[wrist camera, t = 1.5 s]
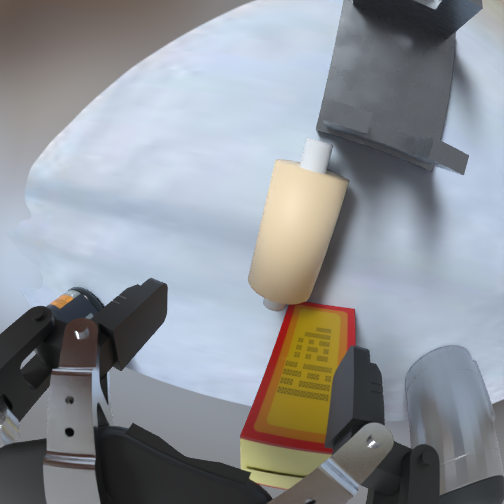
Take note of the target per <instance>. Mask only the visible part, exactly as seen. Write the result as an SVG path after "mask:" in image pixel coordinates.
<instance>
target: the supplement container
mask: <svg viewBox="0 0 504 504" xmlns="http://www.w3.org/2000/svg"><path fill="white" fill-rule="evenodd" d="M46 307H47V308H49V309H50V310H51V312H52V314H53V318H54V319H55V320H59V321H62V322H66V323H69V322H71V321H72V320H75V319H78V318H87V319H91V318H92V317H93V316H94V315H96V314H97V313H98V312H99V311H100V310H102V309H103V306H102V305H101V303H100V302H99V301H98V300H97V298H96V297H95V296H94V295H92V294H91V293H90V292H89V291H87V290H85V289H83V288H81V287H73V288H71V289H69V290H68V291H67V292H66V293H64V294H63V295H62V296H60V297H59V298H57V299H56V300H55V301H53V302H52V303H50V304H49V305H48V306H46ZM34 351H35V353H36V354H37V351H36V349H34Z"/></svg>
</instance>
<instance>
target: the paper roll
mask: <svg viewBox="0 0 504 504" xmlns="http://www.w3.org/2000/svg"><path fill="white" fill-rule="evenodd" d="M332 148H333V145H331V144H328V143H324V142H321V141H317V140H313V139H310V138H306V142H305V146H304V150H303V154H302V158H301V162H295V161H289V160H281V159H278V160H275V164H274V169H273V173H272V177H271V182H270V186H269V190H268V195H267V199H266V203H265V207H264V212H263V216H262V220H261V225H260V229H259V233H258V238H257V242H256V246H255V250H254V255H253V259H252V263H251V268H250V272H249V276H248V282H249V284H250V286H251V288H252V289H253V290H254V291H255V292H256V293H258V294H259V295H260V296H262V297H264V300H263V304H264V306H265V307H266V308H268V309H270V310H272V311H281V310H283V309H284V307H285V304H290V305H291V304H299V303H303V302H305V301H306V300H308V299H309V297H310V296H311V293H312V290H313V288H314V285H315V282H316V280H317V277H318V274H319V271H320V269H321V266H322V263H323V260H324V258H325V255H326V252H327V249H328V246H329V243H330V240H331V237H332V234H333V231H334V228H335V225H336V222H337V219H338V216H339V213H340V210H341V206H342V203H343V200H344V197H345V193H346V190H347V187H348V183H349V180H348V179H346V178H344V177H342V176H340V175H338V174H336V173H333V172H330V171H328V170H327V167H328V163H329V160H330V156H331V152H332Z"/></svg>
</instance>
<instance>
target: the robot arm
mask: <svg viewBox="0 0 504 504" xmlns="http://www.w3.org/2000/svg"><path fill="white" fill-rule="evenodd" d="M167 291H168V287H167V284H165V283H163V282H160V281H158V280H155V279H153V278H150V279H148V280H147V281H146V282H144V283H143V284H142V285H141V286H140V285H138V284H137V285H135V286H132V287H129V288H127V289H126V290H124V291H123V292H122V293H121V294H120V295H119V296H117V297H116V298H115V299H113V301H111V302H110V303H109V304H107V305H106V306H105V307H104V308H103V309H102V310H100V311H99V312H98V313H97V314H96V315H94V316H93V317H92V318H91V319H87V318H78V319H75V320H72V321H71V322H69V323H66V322H62V321H59V320H55V319H54V318H53V314H52V312H51V310H50V309H49V308H47V307H45V306H37V307H33V308H31V309H30V310H28V311H27V312H26V313H25V314H23V315H22V316H21V317H20V318H19V319H17V320H16V321H15V322H14V323H13V324H12V325H10V326H9V327H8V328H7V329H6V330H5V331H4V332H2V333H1V334H0V504H346V503H347V502H348V501H349V500H350V499H351V498H352V497H353V496H354V495H355V494H356V493H357V491H358V489H357V488H358V487H359V485H362V486H364V487H366V488H368V494H367V501H366V504H502V502H503V500H504V477H503V476H504V475H503V468H502V462H501V456H500V451H499V446H498V441H497V437H496V433H495V429H494V424H493V422H494V420H495V414H494V411H493V407H492V404H491V401H490V398H489V395H488V392H487V389H486V386H485V383H484V380H483V377H482V375H481V372H480V370H479V367H478V364H477V362H476V361H473V360H472V357H471V355H470V353H469V352H468V350H466V349H465V348H463V347H459V346H447V347H443V348H439V349H436V350H434V351H432V352H430V353H428V354H427V355H425V356H423V357H422V358H421V359H420V360H418V361H417V362H416V363H415V364H414V365H413V366H412V367H411V369H410V370H409V372H408V374H407V376H406V381H405V385H406V393H407V401H408V412H409V422H410V436H411V437H410V438H411V448H408V447H406V446H403V445H401V444H399V443H397V442H395V441H394V439H393V435H392V433H391V431H390V430H389V429H388V428H387V427H386V426H385V424H384V402H383V395H382V393H383V387H382V376H381V372H380V370H379V369H378V367H377V365H376V364H374V363H370V354H369V350H368V349H365V348H361V347H357V346H353V345H351V346H350V347H349V349H348V351H347V352H346V354H345V356H344V358H343V359H342V361H341V363H340V364H339V366H338V368H337V369H336V371H335V374H334V377H333V380H332V389H331V399H330V408H329V416H328V424H327V431H326V438H325V445H324V447H325V448H331V449H333V451H332V456H331V457H330V458H328V459H327V460H326V461H325V462H324V463H322V464H321V465H320V466H319V467H317V468H316V469H315V470H314V471H312V472H311V473H310V474H308V475H307V476H306V477H304V478H303V479H302V480H300V481H299V482H298V483H296V484H295V485H293V486H292V487H291V488H289V489H288V490H286V491H285V492H283V493H282V494H280V495H279V496H277V497H276V498H274V499H272V497H271V496H270V495H269V494H268V492H267V491H266V490H264V489H263V488H262V487H261V486H260V485H259V484H257V483H256V482H254V481H253V480H251V479H249V477H250V474H251V472H248V471H245V470H241V469H238V468H235V467H232V466H229V465H226V464H223V463H220V462H212V461H206V460H200V459H194V458H189V457H186V456H184V455H182V454H181V453H179V452H178V451H177V450H175V449H174V448H173V447H172V446H170V445H169V444H168V443H166V442H165V441H164V440H163V439H161V438H160V437H159V436H156V435H155V434H152V433H151V432H149V431H147V430H145V429H143V428H141V427H139V426H137V425H136V424H134V423H133V424H132V425H131V427H130V428H124V427H119V426H115V425H114V421H113V416H112V412H111V402H110V384H109V370H110V369H111V368H112V367H115V368H116V369H118V370H120V371H122V370H123V369H124V367H125V366H126V365H127V364H128V363H129V362H130V360H131V359H132V358H133V357H134V356H135V355H136V353H137V352H138V351H139V350H140V349H141V348H142V347H143V345H144V344H145V343H146V342H147V341H148V340H149V339H150V337H151V336H152V335H153V334H154V333H155V332H156V331H157V329H158V328H159V327H160V326H161V325H162V324H163V322H164V320H165V318H166V315H167ZM34 349H36V351H37V354H36V355H35V356H34V357H33V358H32V359H31V360H30V361H29V362H28V363H27V364H26V365H25V366H24V367H23V368H22V369H21V370H20V366H21V363H22V362H23V360H24V359H25V358H26V357H27V356H28V355H29V354H30V353H31V352H32V351H33V350H34ZM49 386H50V389H49V400H48V415H47V438H45V439H39V440H32V441H25V442H17V443H15V441H17V440H18V439H19V438H20V432H19V422H20V421H21V420H22V418H23V417H24V416H25V414H26V413H27V412H28V411H29V410H30V409H31V407H32V406H33V405H34V404H35V403H36V401H37V400H38V399H39V398H40V397H41V395H42V394H43V393H44V392H45V391H46V390H47V388H48V387H49Z"/></svg>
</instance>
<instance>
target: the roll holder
mask: <svg viewBox="0 0 504 504" xmlns="http://www.w3.org/2000/svg"><path fill="white" fill-rule="evenodd" d="M481 9H483V8H482V0H344V1H343V6H342V11H341V17H340V22H339V27H338V32H337V37H336V42H335V47H334V51H333V56H332V61H331V65H330V70H329V75H328V79H327V83H326V88H325V92H324V97H323V101H322V105H321V110H320V114H319V118H318V122H317V126H316V130H317V131H320V132H324V133H328V134H331V135H334V136H338V137H341V138H344V139H348V140H351V141H354V142H357V143H360V144H363V145H366V146H369V147H371V148H374V149H377V150H380V151H383V152H385V153H388V154H391V155H393V156H396V157H398V158H401V159H403V160H406V161H408V162H411V163H413V164H415V165H418V166H420V167H422V168H425V169H427V170H429V171H432V169H433V166H436V167H440V168H443V169H446V170H449V171H452V172H455V173H458V174H461V175H464V172H465V169H466V165H467V161H468V158H469V155H467V154H465V153H463V152H462V151H460V150H458V149H456V148H454V147H452V146H450V145H448V144H446V143H444V142H442V141H440V139H441V135H442V130H443V126H444V121H445V116H446V111H447V106H448V100H449V94H450V88H451V80H452V72H453V63H454V52H455V36H456V31H457V30H458V29H459V28H460V27H462V26H463V25H464V24H465V23H466V22H467V21H468V20H470V19H471V18H472V17H473V16H474V15H475V14H477V13H478V12H479V11H480V10H481Z"/></svg>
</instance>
